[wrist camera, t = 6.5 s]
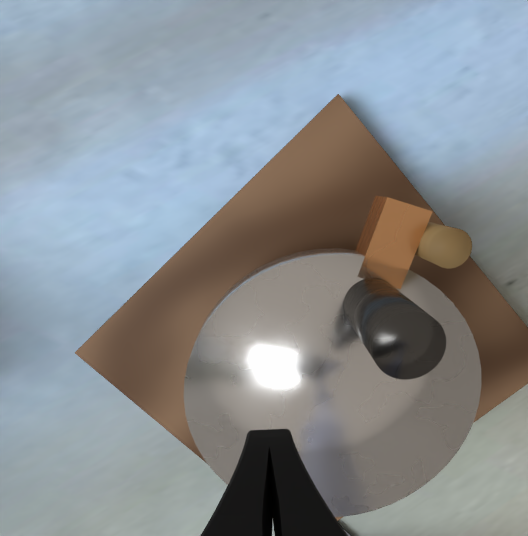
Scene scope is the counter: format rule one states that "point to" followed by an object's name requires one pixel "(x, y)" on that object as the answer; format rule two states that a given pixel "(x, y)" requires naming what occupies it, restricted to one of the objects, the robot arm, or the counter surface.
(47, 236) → the counter surface
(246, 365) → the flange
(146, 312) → the base board
